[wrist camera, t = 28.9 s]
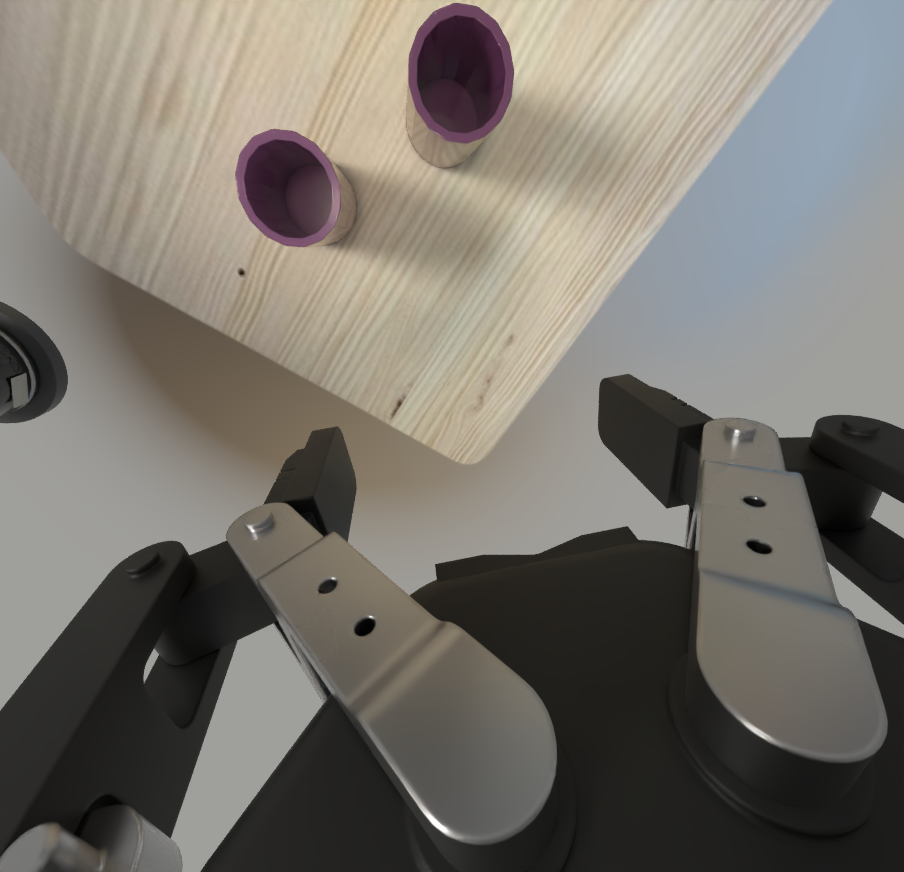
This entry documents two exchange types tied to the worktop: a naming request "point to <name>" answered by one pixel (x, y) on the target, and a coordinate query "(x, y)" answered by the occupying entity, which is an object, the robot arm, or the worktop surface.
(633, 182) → the worktop surface
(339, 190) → the pair cup
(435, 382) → the worktop surface
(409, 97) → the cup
